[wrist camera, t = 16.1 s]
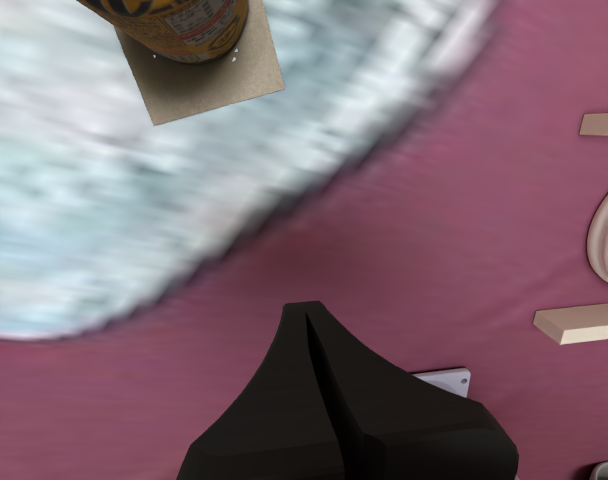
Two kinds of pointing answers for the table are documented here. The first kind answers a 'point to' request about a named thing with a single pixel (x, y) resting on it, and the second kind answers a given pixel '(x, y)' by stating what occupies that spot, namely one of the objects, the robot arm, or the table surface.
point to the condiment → (194, 52)
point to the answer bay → (581, 319)
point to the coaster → (599, 241)
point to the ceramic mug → (600, 472)
